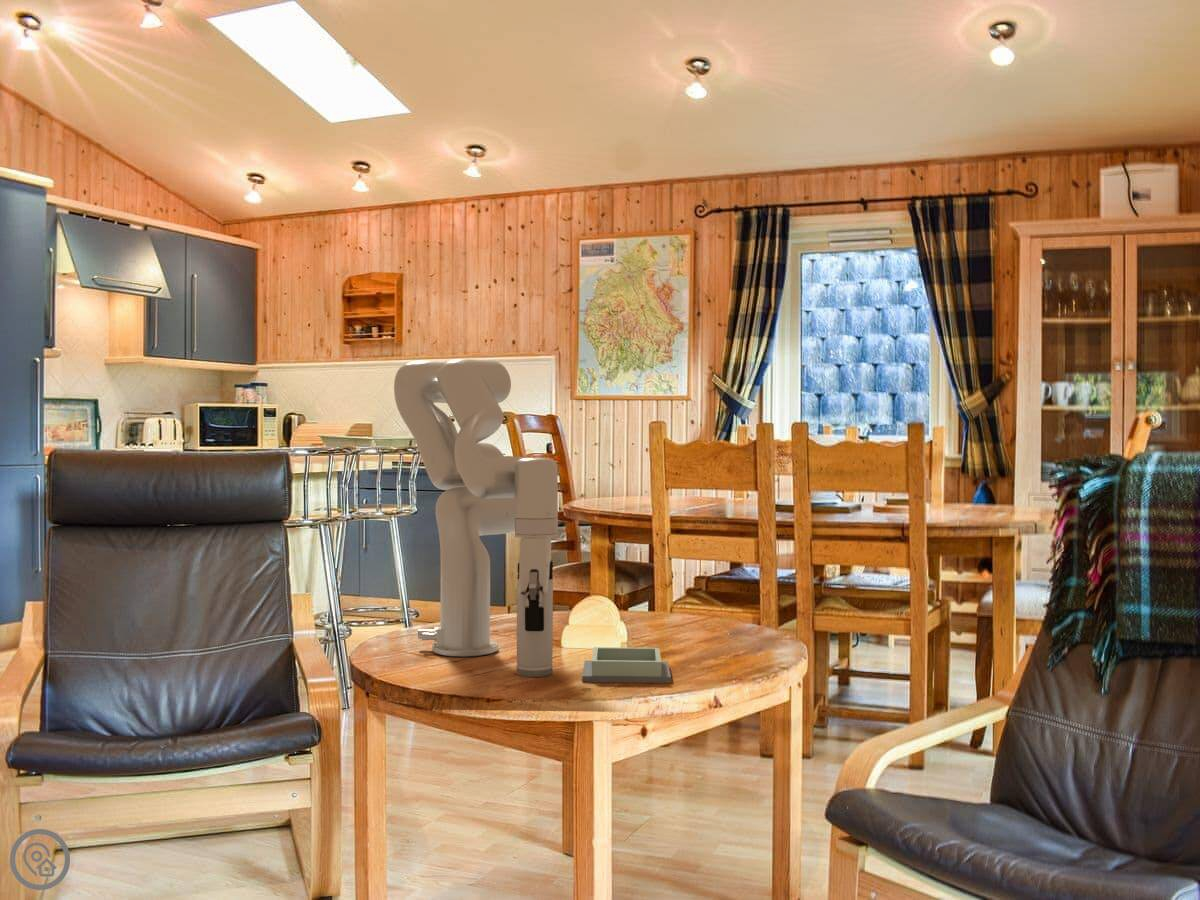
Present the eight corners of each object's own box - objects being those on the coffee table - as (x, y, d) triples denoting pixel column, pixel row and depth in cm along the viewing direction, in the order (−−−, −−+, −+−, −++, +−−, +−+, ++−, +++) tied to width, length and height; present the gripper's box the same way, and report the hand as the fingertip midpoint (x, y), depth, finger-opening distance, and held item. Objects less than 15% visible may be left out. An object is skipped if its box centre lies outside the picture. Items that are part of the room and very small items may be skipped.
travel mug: (559, 671, 189) (560, 558, 189) (540, 679, 183) (541, 562, 183) (529, 667, 192) (530, 556, 192) (509, 674, 186) (510, 560, 186)
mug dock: (582, 681, 181) (582, 661, 181) (584, 666, 193) (584, 646, 193) (670, 683, 181) (671, 662, 181) (667, 667, 193) (667, 647, 193)
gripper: (519, 524, 196) (520, 618, 196) (509, 532, 178) (510, 634, 178) (560, 524, 196) (560, 618, 196) (554, 532, 178) (555, 634, 178)
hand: (536, 626), depth 187 cm, fingers open, 9 cm apart
